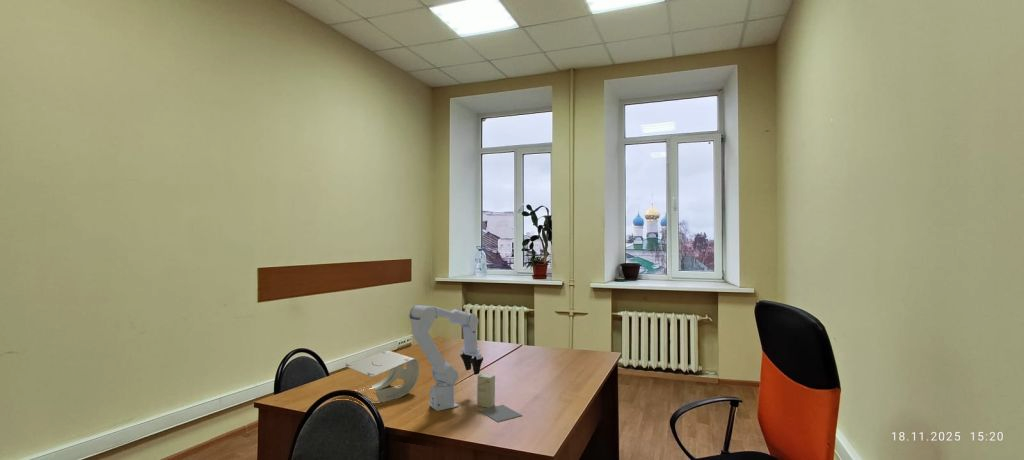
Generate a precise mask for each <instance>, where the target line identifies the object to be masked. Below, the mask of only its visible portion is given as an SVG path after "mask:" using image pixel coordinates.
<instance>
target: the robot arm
mask: <svg viewBox="0 0 1024 460" xmlns="http://www.w3.org/2000/svg"><path fill="white" fill-rule="evenodd" d="M439 317H440V318H445V319H448V320H449V322H450V323H451V324H454V325H460V326H461V327H462V334H463V335H462V336H463V347H461V354H460V356H459V357H460V358H461V360H462V362H463V365H464V367H465V368H464V369H465V370H466V371H469V370H470V371H471V369H473V370H472V371H473V374H474V375H476V376H478V375H480V371H481V366H482V363H483V361H484V357H483V356H482V353H480V351H481V349H480V348H478V337H477V330H478V324H479V318H478V316H477V315H476V314H474V313H470V312H468V311H466V310H465V311H462V310H461V309H460V308H454V309H451V310H449V309H445V308H443V307H439V306H433V305H431V306H430V305H420V304H414V305H413V306H411V308H410V310H409V314H408V317H407V318H408V319H409V321H410V324H411V332H412V335H413V337H414V340H416V342H417V344H418V346H419V347H420V349H421V351H422V352H423V354H424V355H425V356H426V359H427V360H428V362H429V363H430V365H431V367H430V371H431V373H432V378H433V380H434V381H435V385H433V386H430V389H429V407H431V408H432V409H434V410H435V411H436V412H440V411H443V410H448V409H452V408H457V407H459V404H457V403H455V385H456V383H457V381H458V378H459V373H458V372H459V371H458V370H457V369H455V368H454V367H453V365H451V364H450V363H449V362H447V361H446V360H445V358H444V356H443V355H442V353H441V352H440V349H439V348H438V347H437V345H436V343H435V342H434V340H433V338H432V336H431V335H430V333H429V331H430V329H431V328H432V325H433V324H434V321H435V320H436V319H438V318H439Z"/></svg>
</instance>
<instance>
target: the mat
mask: <svg viewBox="0 0 1024 460" xmlns="http://www.w3.org/2000/svg"><path fill="white" fill-rule="evenodd" d="M479 412H480V413H482V414H483V415H485V416H487V417H489V418H490V419H492V420H493V421H495V422H497V423H500V422H503V421H508V420H512V419H516V418H519V417H522V416H523V415H522V414H521V413H519V412H517V411H515V410H513V409H512V408H510V407H508V406H506V405H504V404H500V405H496V406H495V405H494V406H492V407H490V408H487V407H486V408H484V409H479Z"/></svg>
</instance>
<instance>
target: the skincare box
mask: <svg viewBox="0 0 1024 460" xmlns="http://www.w3.org/2000/svg"><path fill="white" fill-rule="evenodd" d="M476 384H477V386H476V387H477V389H476V391H477V393H476V397H477V398H476V406H477V407H483V408H486V409H487V408H491V407H495V403H496V399H495V398H496V394H495V393H496V375H495V374H489V373H488V374H487V373H483V372H482V373H479V374H477V383H476Z"/></svg>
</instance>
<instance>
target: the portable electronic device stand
mask: <svg viewBox="0 0 1024 460" xmlns="http://www.w3.org/2000/svg"><path fill="white" fill-rule="evenodd" d="M404 364H406V367H404ZM345 367H346V368H349V369H351V370H353V371H356V372H358V373H361V374H363V375H364V376H368V377H370V378H373V377H376V376H378V375H382V374H383V373H386V372H388V371H389V372H388V373H387V375H386V376H385V377H384V378H383V379H382V380H380V381H378V382H377V383H375V384H373V385H371V386H372V388H369V390H370V389H374V388H375V389H376V390H375V391H376V393H374V392H373V393H374V394H376V396H377V398H378V401H379V402H383V403H386V401H387V402H391V401H393V399H394V400H397V399H399V398H402V397H403V396H405V395H408V394H409V393H410V392H411V391H412V390H413V389H414V388H415V386H416V384H417V382H418V378H419V376H420V364H419V360H418V359H416V358H413V357H411V356H407V355H404V354H402V353H397V352H394V351H392V350H383V351H381V352H378V353H376V354H373V355H371V356H367V357H366V358H362V359H359V360H357V361H354V362H352V363H351V362H350V363H349V364H348V363H345ZM397 379H400V380H403V383H402V384H401V385H399V386H400V387H397V386H398V385H395V386H390V385H392V384H393V383H394V382H395V381H397ZM389 386H390V387H389ZM354 390H355V391H357V390H356V389H354ZM361 391H362V390H361ZM363 391H364V389H363ZM377 391H378V392H377ZM359 392H360V391H359ZM365 392H366V391H365ZM365 392H364V393H365ZM361 393H362V392H361ZM362 394H363V393H362ZM365 394H366V393H365ZM365 394H364V395H365ZM365 396H367V395H365ZM367 397H368V396H367ZM369 399H370V398H369ZM371 399H372V398H371ZM371 399H370V400H371ZM372 400H373V399H372ZM372 400H371V401H372ZM390 400H391V401H390ZM373 401H374V400H373ZM373 401H372V402H373ZM378 401H374V402H378Z"/></svg>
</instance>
